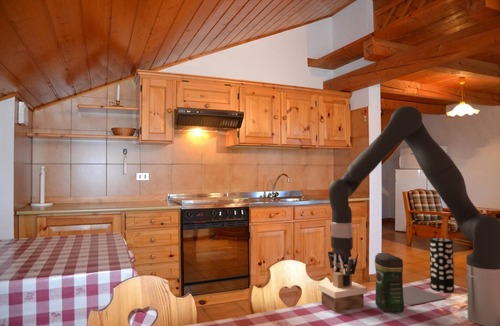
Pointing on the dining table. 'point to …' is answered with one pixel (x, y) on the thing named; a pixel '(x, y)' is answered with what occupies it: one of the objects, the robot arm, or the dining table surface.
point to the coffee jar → (389, 283)
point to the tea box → (343, 302)
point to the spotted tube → (441, 265)
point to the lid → (341, 287)
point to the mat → (418, 296)
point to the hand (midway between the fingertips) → (342, 283)
